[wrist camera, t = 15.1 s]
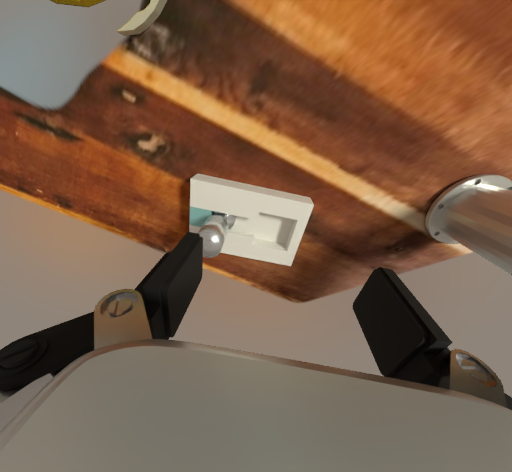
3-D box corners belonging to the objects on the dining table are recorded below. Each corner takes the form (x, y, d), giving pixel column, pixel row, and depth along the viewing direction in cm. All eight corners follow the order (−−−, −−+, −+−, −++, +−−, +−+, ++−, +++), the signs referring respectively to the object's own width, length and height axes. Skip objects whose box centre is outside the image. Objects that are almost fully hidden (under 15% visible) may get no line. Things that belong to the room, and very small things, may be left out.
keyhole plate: (309, 197, 34) (314, 204, 31) (289, 255, 40) (290, 266, 37) (197, 173, 33) (190, 178, 30) (195, 236, 39) (188, 246, 36)
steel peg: (237, 205, 34) (227, 233, 25) (234, 230, 37) (223, 263, 28) (209, 199, 34) (188, 225, 25) (207, 225, 37) (188, 257, 28)
